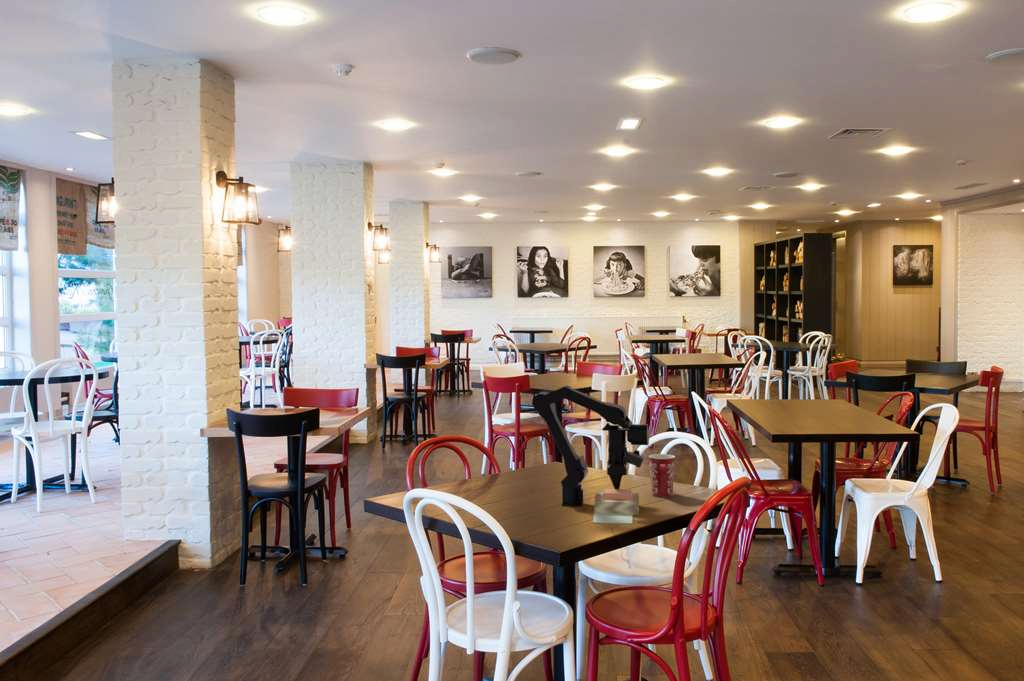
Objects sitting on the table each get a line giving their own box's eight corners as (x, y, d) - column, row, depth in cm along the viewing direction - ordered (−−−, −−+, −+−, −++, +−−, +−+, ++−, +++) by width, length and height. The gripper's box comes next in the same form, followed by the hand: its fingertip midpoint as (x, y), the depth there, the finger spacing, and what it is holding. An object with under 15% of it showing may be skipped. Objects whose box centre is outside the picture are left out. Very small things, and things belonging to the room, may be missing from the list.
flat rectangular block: (602, 499, 270) (602, 493, 269) (603, 494, 275) (603, 488, 275) (630, 499, 268) (630, 493, 268) (631, 495, 274) (631, 489, 274)
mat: (592, 523, 256) (592, 522, 256) (594, 513, 267) (594, 512, 267) (632, 524, 255) (632, 523, 255) (632, 514, 265) (632, 513, 265)
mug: (648, 491, 297) (648, 453, 296) (674, 491, 295) (674, 453, 294) (648, 500, 284) (648, 460, 283) (676, 500, 283) (676, 461, 282)
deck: (594, 513, 267) (594, 501, 267) (596, 504, 279) (596, 492, 279) (638, 514, 265) (638, 502, 265) (638, 505, 277) (638, 493, 277)
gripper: (642, 449, 265) (642, 498, 266) (641, 439, 283) (641, 485, 284) (607, 449, 266) (607, 497, 267) (608, 439, 285) (608, 484, 285)
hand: (617, 491), depth 276 cm, fingers closed
